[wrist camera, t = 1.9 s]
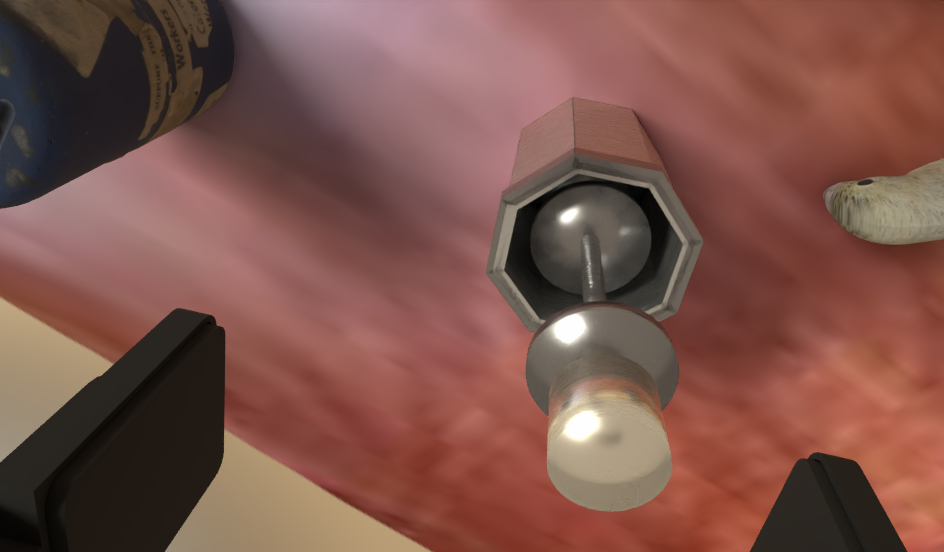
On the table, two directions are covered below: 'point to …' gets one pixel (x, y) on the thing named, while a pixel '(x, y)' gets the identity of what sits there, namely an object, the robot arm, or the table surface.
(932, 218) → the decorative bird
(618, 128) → the press carafe
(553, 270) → the plunger
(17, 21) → the canister
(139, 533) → the robot arm
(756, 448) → the table surface
